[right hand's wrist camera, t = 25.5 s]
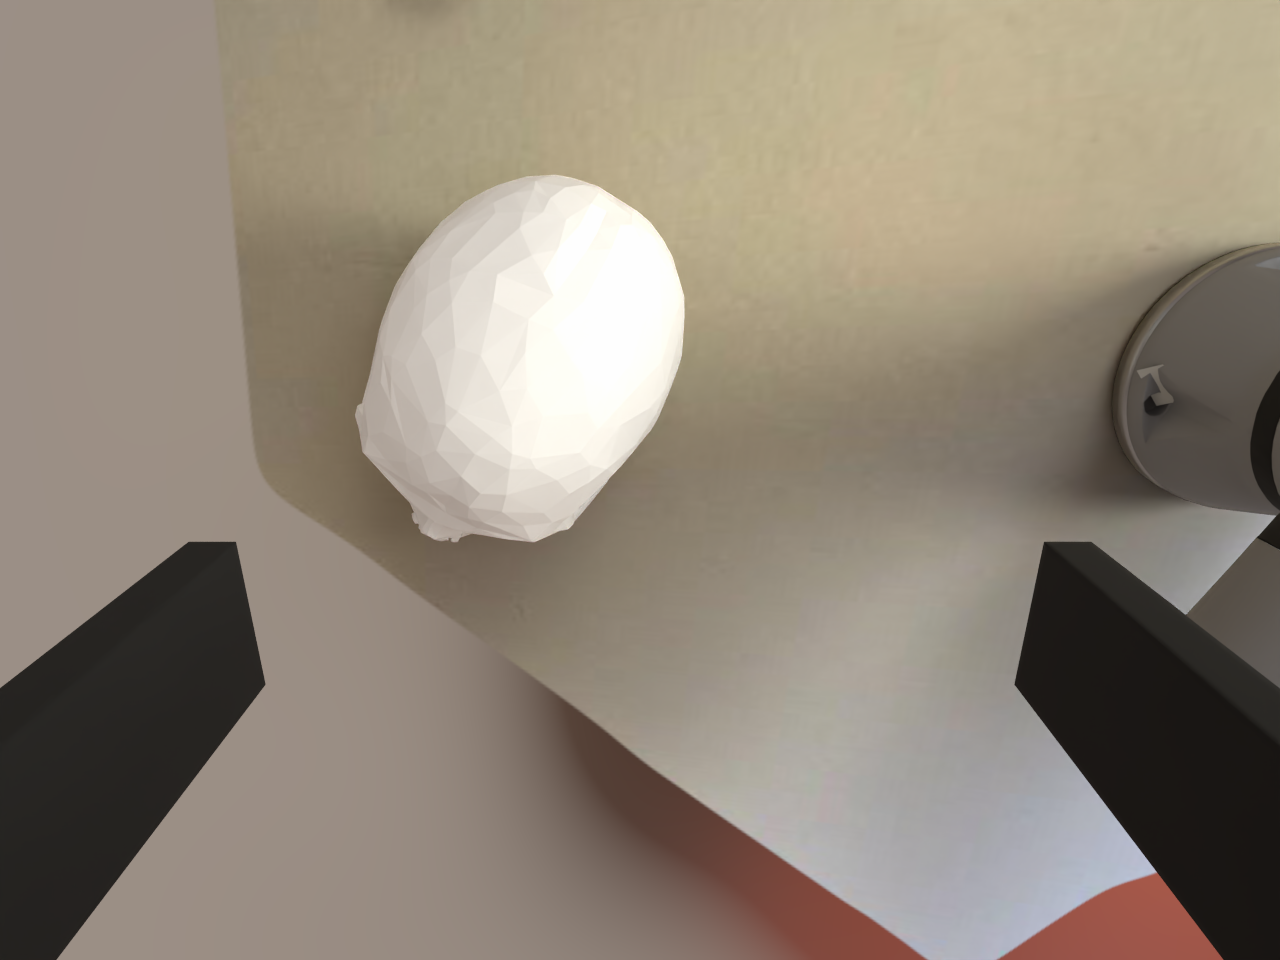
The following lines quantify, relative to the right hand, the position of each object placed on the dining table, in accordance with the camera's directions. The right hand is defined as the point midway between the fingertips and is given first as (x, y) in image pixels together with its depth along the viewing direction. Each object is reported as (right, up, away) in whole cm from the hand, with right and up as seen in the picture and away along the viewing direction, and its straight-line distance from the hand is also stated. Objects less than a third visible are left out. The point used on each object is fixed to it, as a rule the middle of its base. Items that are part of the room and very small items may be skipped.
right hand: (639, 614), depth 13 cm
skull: (-7, +9, +32) cm, 34 cm away
